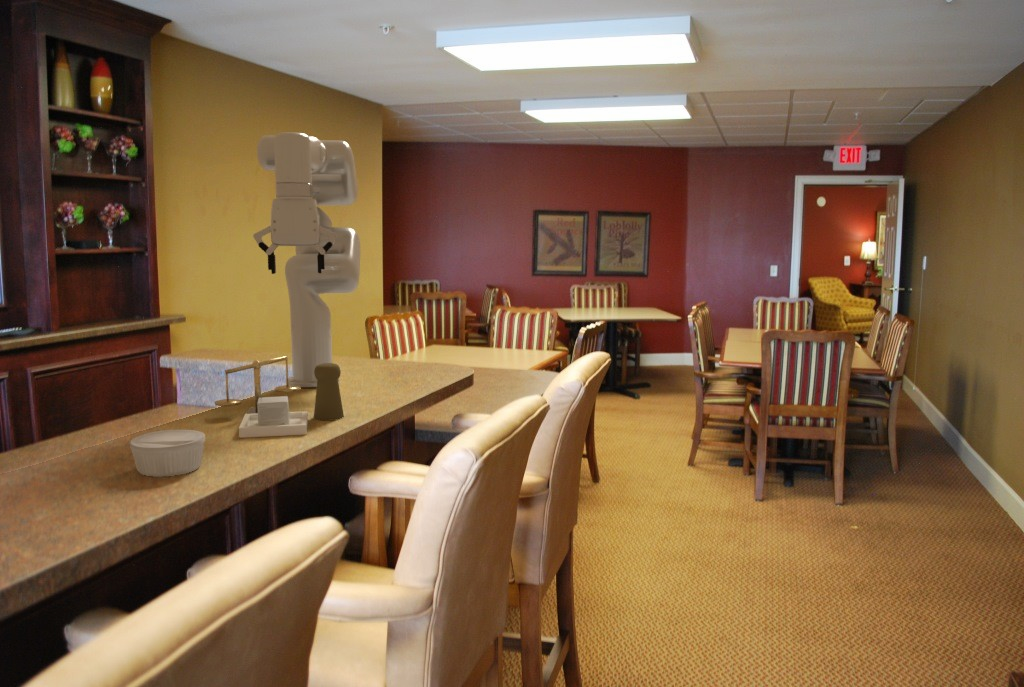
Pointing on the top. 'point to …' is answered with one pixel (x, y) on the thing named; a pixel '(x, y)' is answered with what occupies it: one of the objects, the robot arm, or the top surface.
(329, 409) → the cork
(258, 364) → the balance
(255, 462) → the top surface
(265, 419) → the small box
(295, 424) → the dish
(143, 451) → the ramekin
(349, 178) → the robot arm
